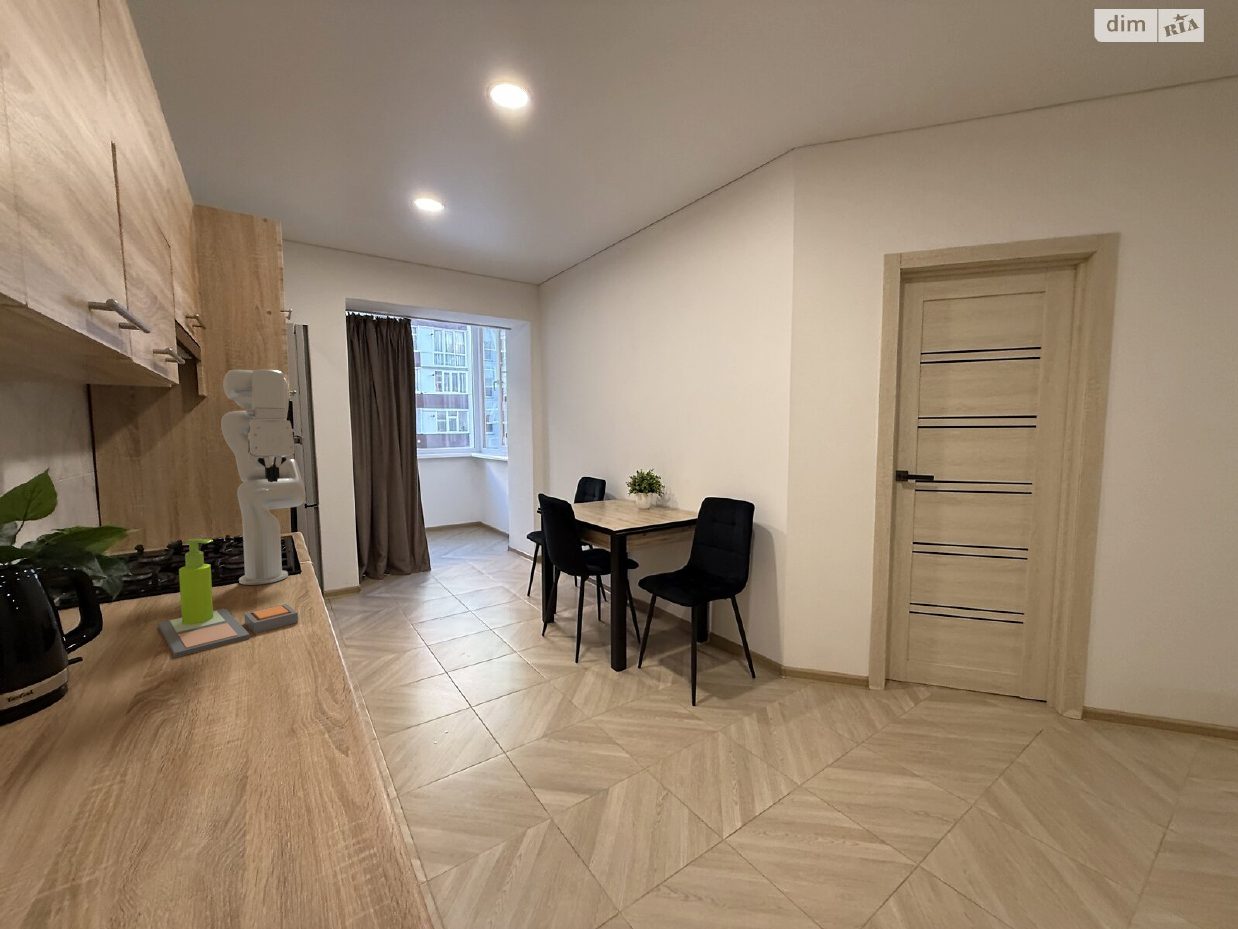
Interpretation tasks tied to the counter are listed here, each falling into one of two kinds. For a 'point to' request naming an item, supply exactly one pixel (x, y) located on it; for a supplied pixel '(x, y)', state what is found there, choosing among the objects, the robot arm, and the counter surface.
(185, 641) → the gray board
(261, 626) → the button housing
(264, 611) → the button
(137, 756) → the counter surface
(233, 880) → the counter surface
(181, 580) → the soap dispenser
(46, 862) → the counter surface
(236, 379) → the robot arm
